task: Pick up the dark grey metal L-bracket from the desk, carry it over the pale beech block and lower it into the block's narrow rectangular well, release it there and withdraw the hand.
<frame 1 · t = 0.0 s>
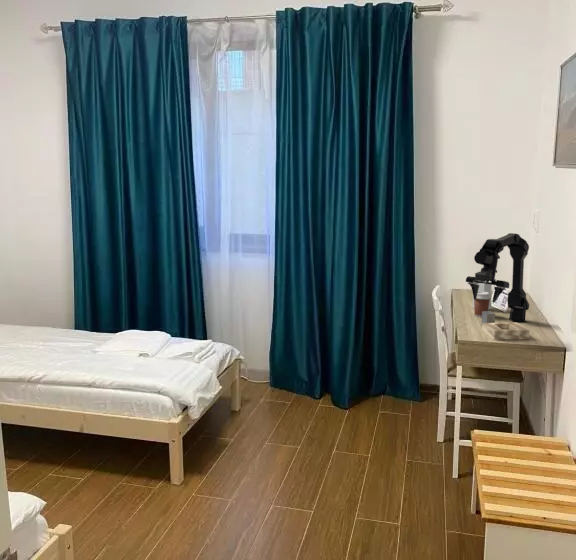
hand: (484, 301, 276), 15 cm above the table, tool pointing down, fingers open, 9 cm apart
well block: (505, 335, 277), on the table
coffee cup: (480, 316, 313), on the table
skincare box: (481, 309, 328), on the table
bracket: (487, 326, 291), on the table
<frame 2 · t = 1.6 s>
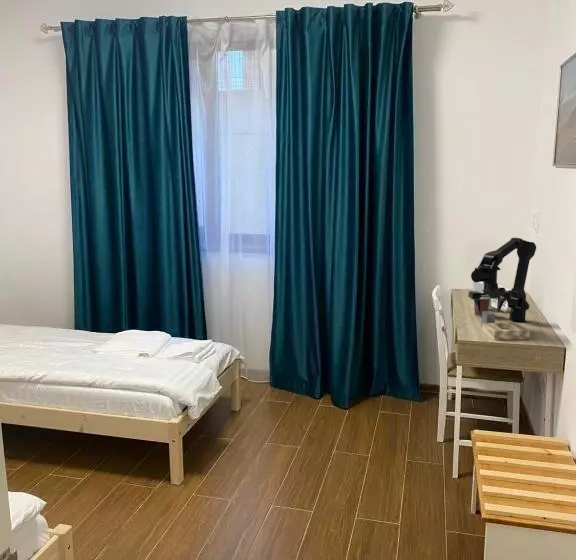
hand: (488, 312, 290), 7 cm above the table, tool pointing down, fingers open, 9 cm apart
nothing on the table moved.
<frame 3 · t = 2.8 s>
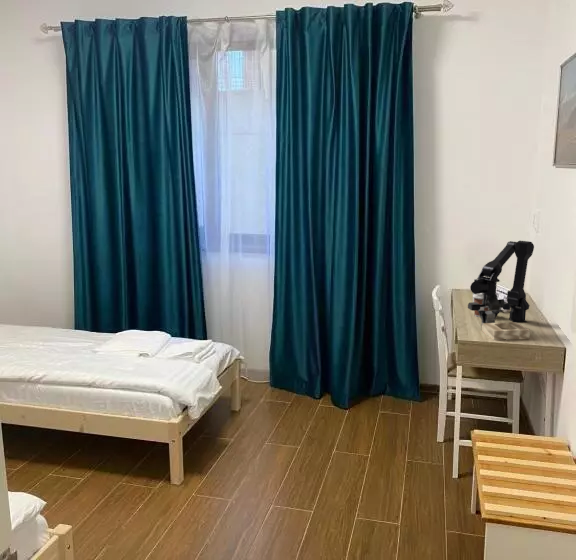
hand: (488, 323, 291), 2 cm above the table, tool pointing down, fingers closed on bracket, 4 cm apart
bracket: (487, 326, 291), on the table, touching gripper
everything else where it was.
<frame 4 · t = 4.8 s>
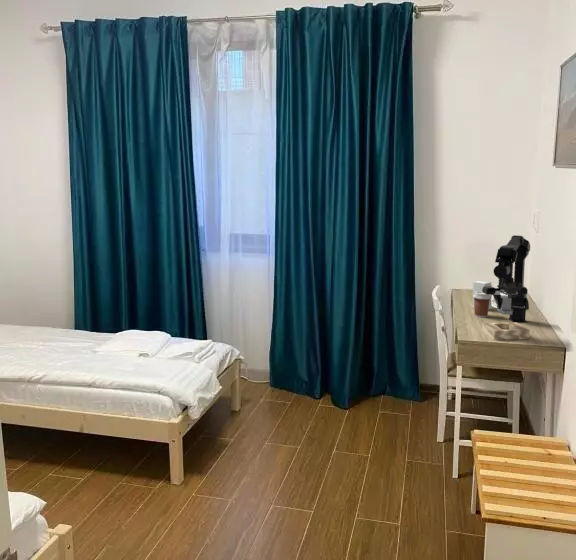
hand: (503, 308, 277), 12 cm above the table, tool pointing down, fingers closed on bracket, 4 cm apart
bracket: (503, 312, 277), point 10 cm above the table, touching gripper
everything else where it was.
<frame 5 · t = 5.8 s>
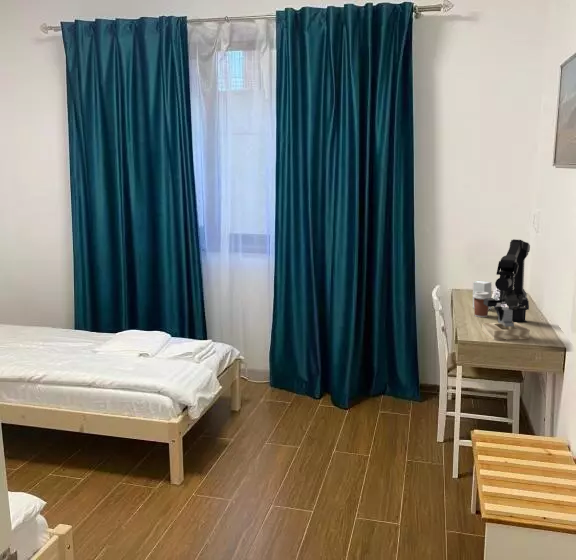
hand: (504, 320, 277), 7 cm above the table, tool pointing down, fingers closed on bracket, 4 cm apart
bracket: (504, 323, 277), point 5 cm above the table, touching gripper
everything else where it was.
when the fingers open (5 cm above the table, at t = 6.8 s): bracket drops 3 cm, resting in well block.
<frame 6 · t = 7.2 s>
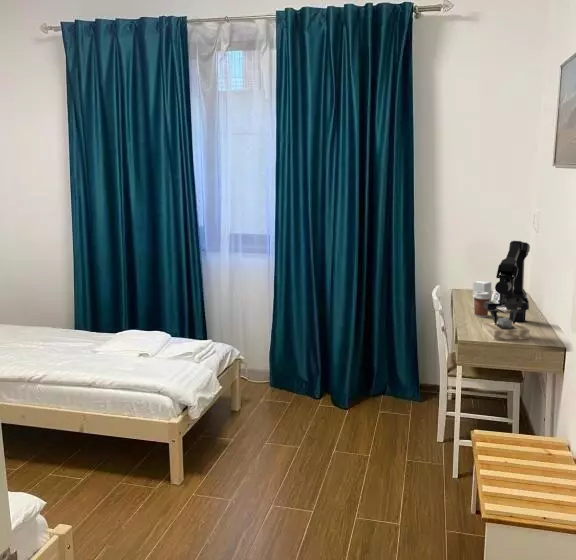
hand: (504, 323, 277), 5 cm above the table, tool pointing down, fingers open, 8 cm apart
bracket: (504, 334, 278), resting in well block
everything else where it was.
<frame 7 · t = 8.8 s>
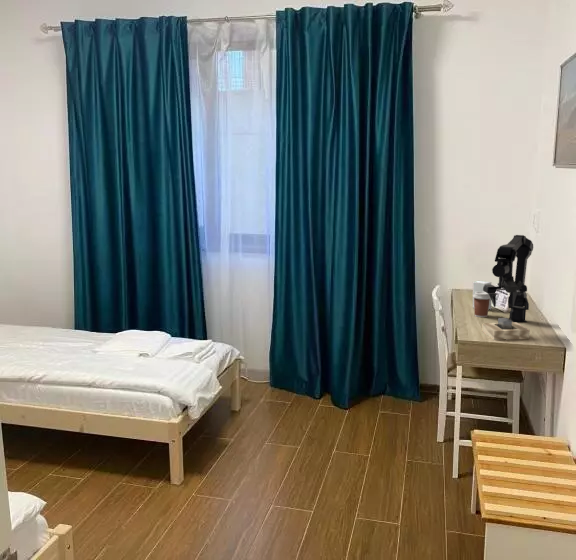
hand: (504, 306, 283), 11 cm above the table, tool pointing down, fingers open, 9 cm apart
nothing on the table moved.
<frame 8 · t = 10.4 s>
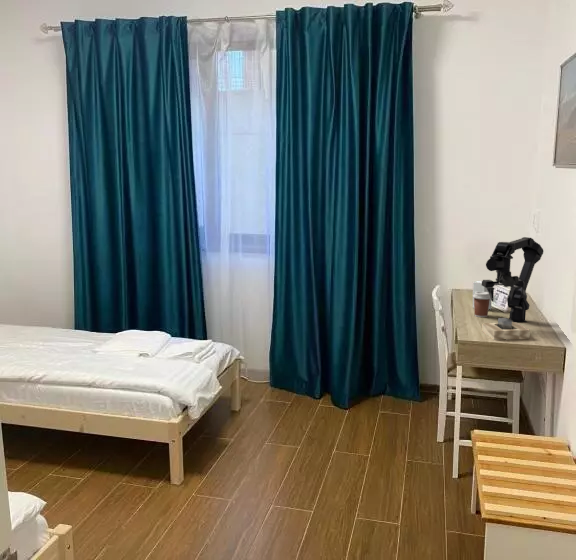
hand: (501, 301, 292), 12 cm above the table, tool pointing down, fingers open, 9 cm apart
nothing on the table moved.
at the end: bracket 0.4 cm off-centre on the well block, point 0.0 cm above the well block's base; bracket tilted 0°; the gripper is holding nothing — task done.
